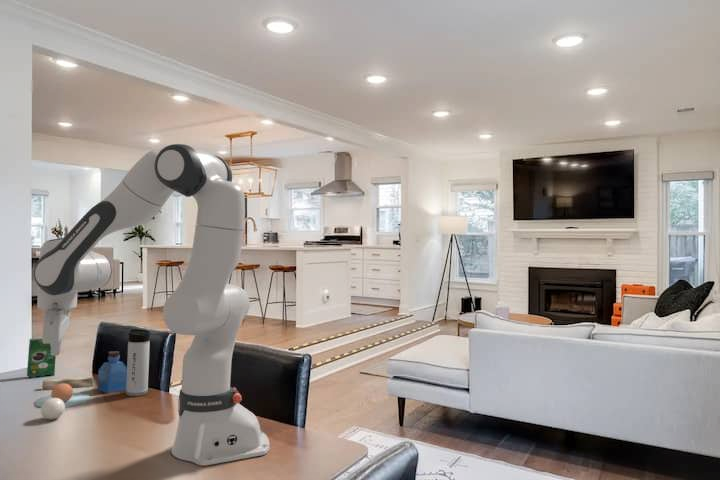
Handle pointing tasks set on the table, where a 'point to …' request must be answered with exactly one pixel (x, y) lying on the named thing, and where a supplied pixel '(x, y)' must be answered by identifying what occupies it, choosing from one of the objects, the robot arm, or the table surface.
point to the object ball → (62, 392)
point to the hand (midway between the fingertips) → (55, 354)
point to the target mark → (74, 400)
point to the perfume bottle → (112, 374)
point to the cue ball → (52, 408)
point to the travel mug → (138, 362)
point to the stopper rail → (68, 382)
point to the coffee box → (40, 359)
